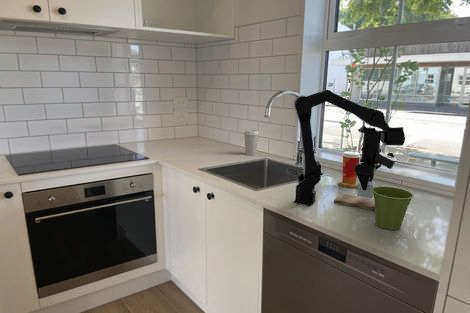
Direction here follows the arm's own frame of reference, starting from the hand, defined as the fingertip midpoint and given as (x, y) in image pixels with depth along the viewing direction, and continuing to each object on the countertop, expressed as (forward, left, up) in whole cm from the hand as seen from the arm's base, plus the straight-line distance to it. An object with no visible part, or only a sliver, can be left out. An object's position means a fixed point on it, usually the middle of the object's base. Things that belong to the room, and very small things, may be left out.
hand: (367, 187), depth 122 cm
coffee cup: (-79, +53, -7) cm, 95 cm away
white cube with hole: (0, 0, -3) cm, 3 cm away
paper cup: (-12, +24, -7) cm, 28 cm away
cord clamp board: (-2, 0, -7) cm, 7 cm away
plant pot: (+10, -16, -7) cm, 20 cm away
